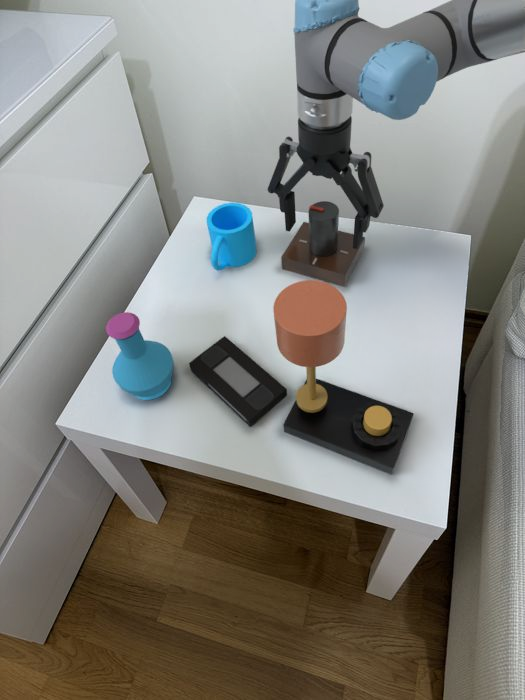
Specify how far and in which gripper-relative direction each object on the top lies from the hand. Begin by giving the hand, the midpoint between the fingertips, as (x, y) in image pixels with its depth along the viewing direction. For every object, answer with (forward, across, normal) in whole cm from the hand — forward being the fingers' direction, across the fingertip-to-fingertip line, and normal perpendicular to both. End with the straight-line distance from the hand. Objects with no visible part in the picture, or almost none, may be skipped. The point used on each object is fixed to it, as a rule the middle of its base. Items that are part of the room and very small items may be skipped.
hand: (323, 234), depth 89 cm
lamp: (+2, +10, -30) cm, 32 cm away
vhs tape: (+6, -2, -30) cm, 30 cm away
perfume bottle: (+6, -15, -35) cm, 39 cm away
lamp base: (+6, +16, -30) cm, 34 cm away
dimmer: (+3, 0, 0) cm, 3 cm away
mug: (+6, -16, -6) cm, 18 cm away
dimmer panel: (+6, 0, 0) cm, 6 cm away
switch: (+2, +20, -30) cm, 36 cm away
